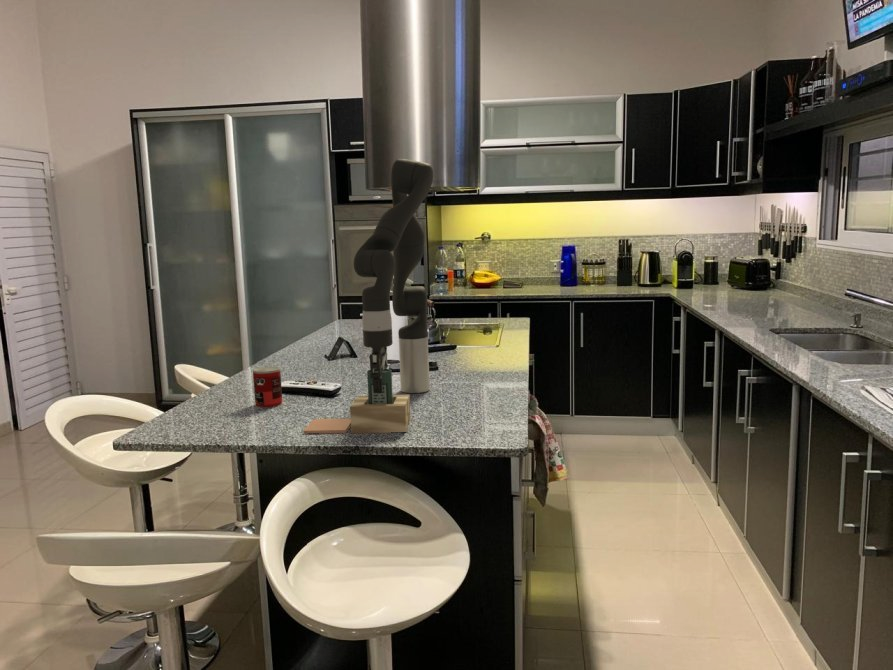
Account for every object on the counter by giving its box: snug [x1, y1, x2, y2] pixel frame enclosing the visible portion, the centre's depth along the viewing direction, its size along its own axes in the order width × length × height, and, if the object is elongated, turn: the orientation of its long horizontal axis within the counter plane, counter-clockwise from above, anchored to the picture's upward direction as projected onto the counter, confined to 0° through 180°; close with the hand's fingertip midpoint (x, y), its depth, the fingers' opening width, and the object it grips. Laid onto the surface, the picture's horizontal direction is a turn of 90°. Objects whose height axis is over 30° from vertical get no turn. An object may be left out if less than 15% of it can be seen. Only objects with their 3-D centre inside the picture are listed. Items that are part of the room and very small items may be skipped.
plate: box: [303, 418, 351, 434], centre depth 187 cm, size 11×11×1 cm
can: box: [366, 368, 394, 404], centre depth 185 cm, size 6×6×15 cm
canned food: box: [252, 366, 283, 408], centre depth 213 cm, size 8×8×11 cm
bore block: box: [349, 394, 412, 434], centre depth 185 cm, size 12×14×7 cm
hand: (380, 389), depth 184 cm, fingers open, 7 cm apart
